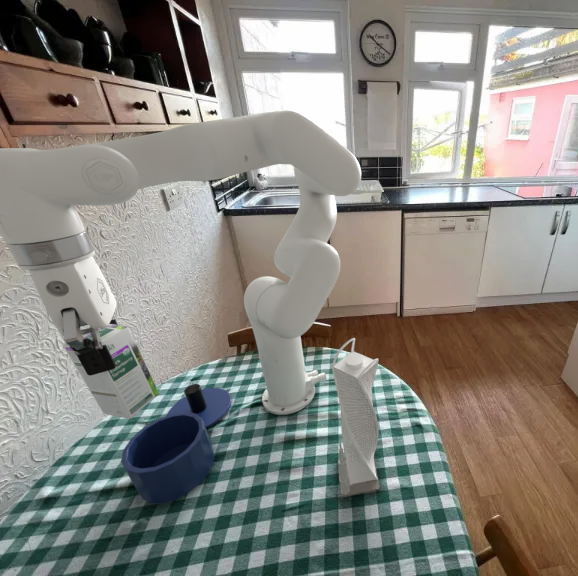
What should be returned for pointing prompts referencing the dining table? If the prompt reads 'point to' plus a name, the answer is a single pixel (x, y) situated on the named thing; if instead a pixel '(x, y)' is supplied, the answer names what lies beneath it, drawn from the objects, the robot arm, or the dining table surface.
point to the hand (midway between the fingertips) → (107, 355)
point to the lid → (204, 403)
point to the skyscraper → (356, 422)
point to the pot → (169, 457)
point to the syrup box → (119, 375)
